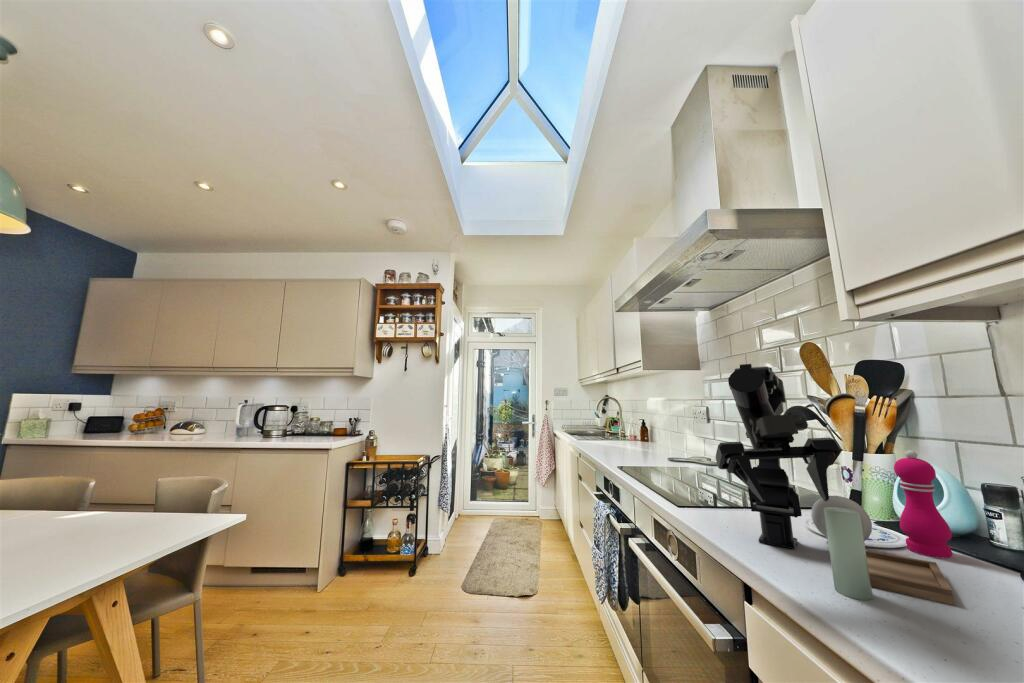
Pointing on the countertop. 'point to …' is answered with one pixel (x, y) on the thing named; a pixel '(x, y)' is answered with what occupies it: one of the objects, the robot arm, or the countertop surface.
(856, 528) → the sage cylinder
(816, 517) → the donut
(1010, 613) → the countertop surface
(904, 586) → the walnut tray
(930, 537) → the pepper mill
